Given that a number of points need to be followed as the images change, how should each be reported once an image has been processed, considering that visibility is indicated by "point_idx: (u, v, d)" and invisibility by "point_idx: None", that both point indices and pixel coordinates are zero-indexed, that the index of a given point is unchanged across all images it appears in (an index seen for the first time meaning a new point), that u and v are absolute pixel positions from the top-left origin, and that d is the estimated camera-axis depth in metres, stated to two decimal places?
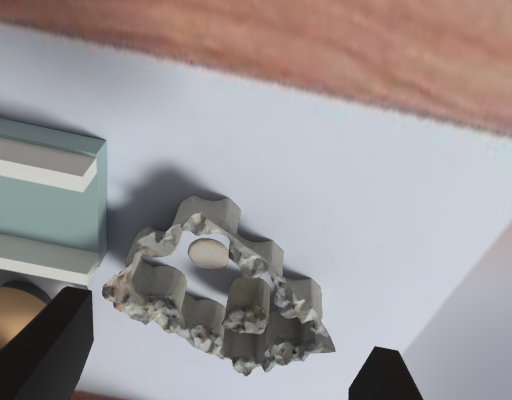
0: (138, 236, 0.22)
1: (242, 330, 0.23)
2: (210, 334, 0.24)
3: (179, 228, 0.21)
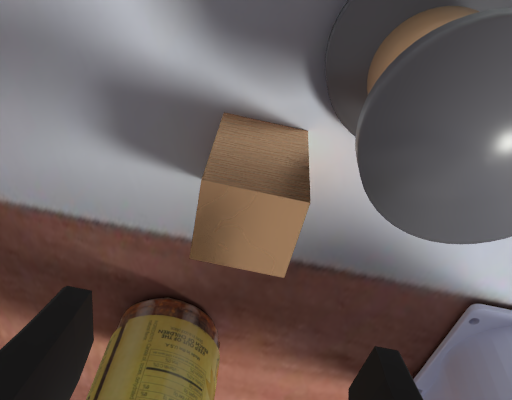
0: None
1: None
2: None
3: None
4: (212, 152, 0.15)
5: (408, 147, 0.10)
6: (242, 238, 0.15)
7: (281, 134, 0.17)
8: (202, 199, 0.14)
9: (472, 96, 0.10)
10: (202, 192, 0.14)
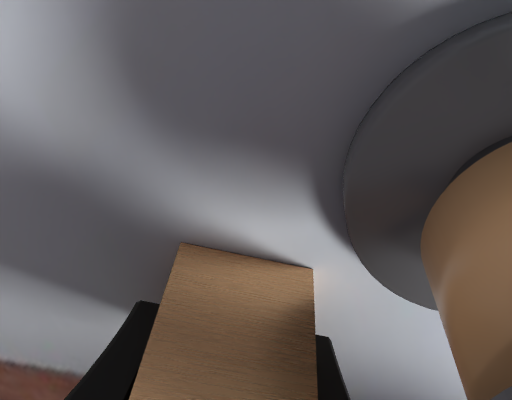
0: None
1: None
2: None
3: None
4: (147, 353, 0.08)
5: None
6: None
7: (271, 285, 0.11)
8: None
9: None
10: None
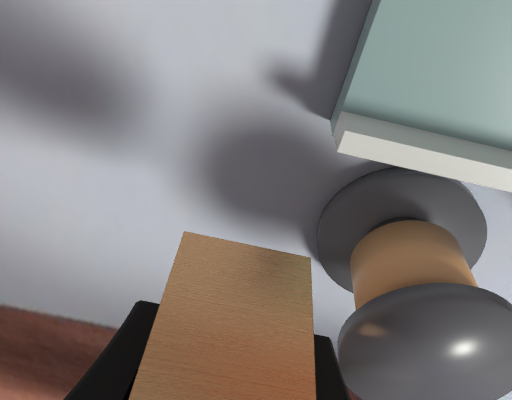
0: None
1: None
2: None
3: None
4: (153, 332, 0.09)
5: (375, 361, 0.14)
6: None
7: (271, 272, 0.11)
8: None
9: (420, 339, 0.13)
10: None
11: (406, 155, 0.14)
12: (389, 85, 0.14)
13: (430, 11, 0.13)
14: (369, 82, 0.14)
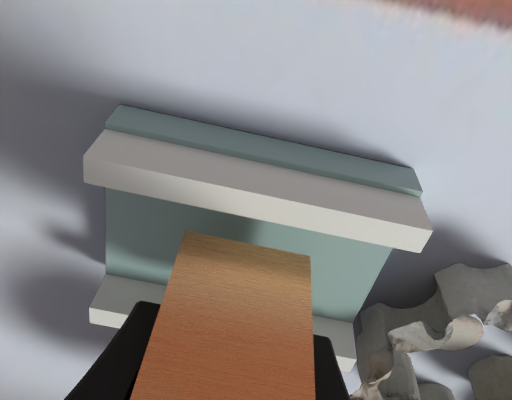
0: (367, 317, 0.17)
1: None
2: None
3: None
4: (156, 329, 0.09)
5: None
6: None
7: (271, 270, 0.11)
8: None
9: None
10: None
11: None
12: (141, 256, 0.15)
13: (154, 201, 0.13)
14: (122, 253, 0.15)
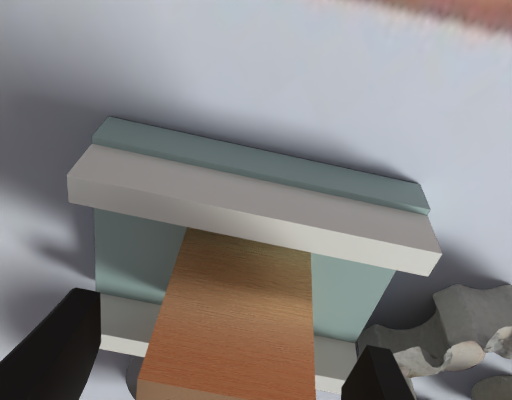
0: (364, 340, 0.16)
1: None
2: None
3: None
4: (163, 307, 0.10)
5: None
6: None
7: (272, 254, 0.12)
8: None
9: None
10: (141, 393, 0.09)
11: (146, 349, 0.14)
12: (133, 274, 0.14)
13: (145, 219, 0.12)
14: (112, 272, 0.14)
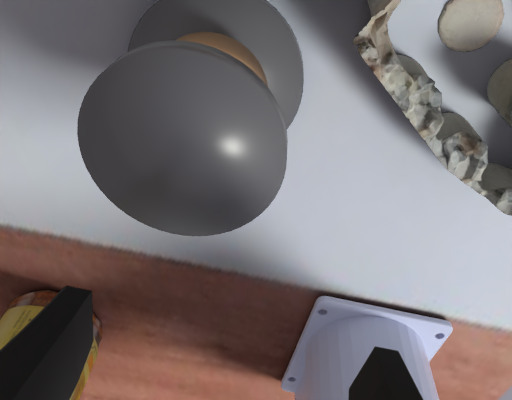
0: None
1: None
2: (479, 141, 0.16)
3: None
4: None
5: (119, 153, 0.13)
6: None
7: None
8: None
9: (150, 112, 0.12)
10: None
11: None
12: None
13: None
14: None
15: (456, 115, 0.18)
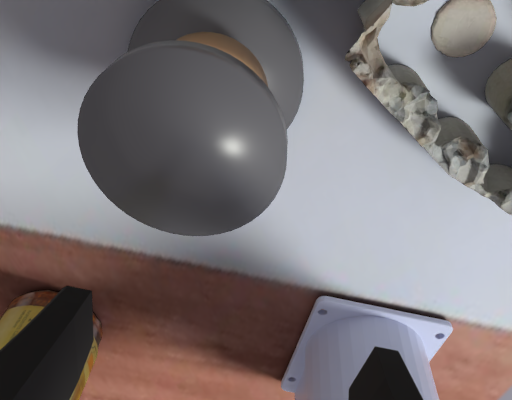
0: (365, 5, 0.15)
1: None
2: (478, 145, 0.16)
3: None
4: None
5: (119, 153, 0.13)
6: None
7: None
8: None
9: (151, 112, 0.12)
10: None
11: None
12: None
13: None
14: None
15: (455, 119, 0.18)
